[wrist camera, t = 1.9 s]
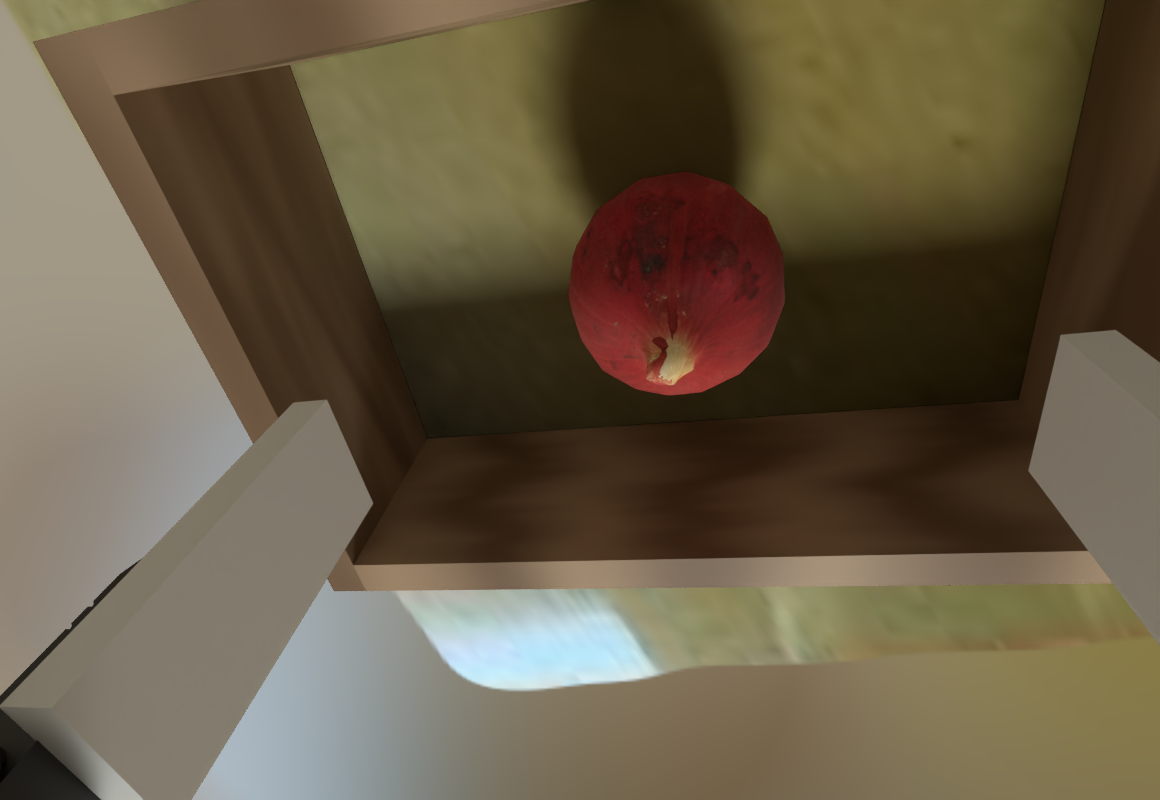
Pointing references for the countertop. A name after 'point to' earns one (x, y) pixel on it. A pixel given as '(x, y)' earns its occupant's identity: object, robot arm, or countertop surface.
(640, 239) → the onion
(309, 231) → the box
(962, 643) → the countertop surface
